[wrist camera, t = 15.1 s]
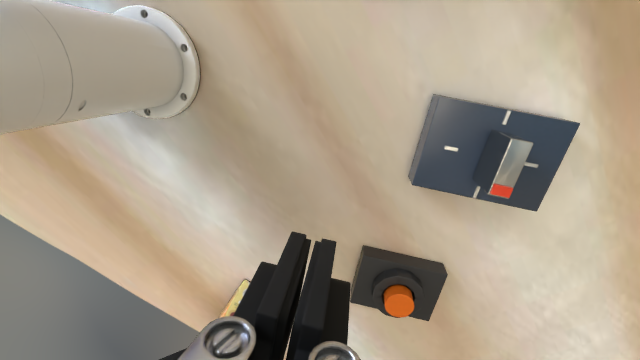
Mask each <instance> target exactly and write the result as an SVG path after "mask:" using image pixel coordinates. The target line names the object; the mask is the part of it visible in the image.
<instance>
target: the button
mask: <svg viewBox="0 0 640 360" xmlns="http://www.w3.org/2000/svg"><path fill="white" fill-rule="evenodd" d="M384 304H385V309H386V311H387V312H388V313H389V314H390V315H392V316H395V317H406V316H408V315H410V314H411V313H412V312H413V310H414V301H413V297H412V293H411V291H410V290H409V289H408V288H407V287H406V286H403V285H392V286H390V287H388V288H387V289H386V290H385V292H384Z"/></svg>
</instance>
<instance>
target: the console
mask: <svg viewBox="0 0 640 360" xmlns="http://www.w3.org/2000/svg"><path fill="white" fill-rule="evenodd" d="M579 125H580V123H577V122H573V121H569V120H565V119H560V118H555V117H550V116H545V115H540V114H534V113H529V112H524V111H519V110H514V109H509V108H503V107H498V106H493V105H488V104H483V103H477V102H472V101H467V100H462V99H457V98H452V97H446V96H441V95H436V94H433V97H432V101H431V104H430V107H429V110H428V114H427V117H426V120H425V123H424V127H423V130H422V133H421V137H420V140H419V143H418V146H417V150H416V153H415V156H414V159H413V163H412V166H411V169H410V173H409V176H408V177H409V179H410V181H411V184H412V185H415V186H419V187H424V188H429V189H433V190H438V191H443V192H447V193H452V194H457V195H462V196H466V197H471V198H476V199H480V200H485V201H490V202H494V203H499V204H504V205H508V206H513V207H518V208H522V209H527V210H532V211H537V210H538V208H539V206H540V204H541V202H542V200H543V198H544V196H545V194H546V192H547V190H548V188H549V186H550V184H551V182H552V180H553V178H554V176H555V174H556V172H557V170H558V168H559V166H560V164H561V162H562V160H563V157H564V155H565V153H566V151H567V149H568V147H569V145H570V143H571V141H572V139H573V137H574V135H575V133H576V131H577V129H578V127H579ZM492 129H493V130H498V131H503V132H508V133H512V134H514V135H516V136H519V137H521V138H523V139H526V140H528V141H530V142H533V146H532V148H531V150H530V153H529V155H528V157H527V159H526V161H525V164H524V166H523V168H522V170H521V173H520V175H519V177H518V179H517V181H516V184H515V186H514V188H513V191H512V193H511V195H510V197H509V199H507V198H502V197H497V196H493V195H488V194H487V193H486V192H485V191H484V190H483V189H482V188H481V187H480V186H479V185H478V184H477V183H476V182H475V181H474V180H473V179H472V178H473V175H474V173H475V170H476V167H477V165H478V162H479V160H480V157H481V155H482V152H483V149H484V147H485V144H486V142H487V139H488V137H489V134H490V132H491V130H492Z"/></svg>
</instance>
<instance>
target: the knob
mask: <svg viewBox="0 0 640 360" xmlns="http://www.w3.org/2000/svg"><path fill="white" fill-rule="evenodd" d="M532 146H533V142H530V141H528V140H526V139H523V138H521V137H519V136H516V135H514V134H512V133H508V132H503V131H498V130H493V129H492V130H491V132H490V134H489V137H488V139H487V142H486V144H485V147H484V149H483V152H482V155H481V157H480V160H479V162H478V165H477V167H476V170H475V173H474V175H473V178H472V179H473V180H474V181H475V182H476V183H477V184H478V185H479V186H480V187H481V188H482V189H483V190H484V191H485V192H486V193H487V194H488V195H493V196H497V197H502V198H507V199H509V197H510V195H511V193H512V191H513V188H514V186H515V184H516V181H517V179H518V177H519V175H520V173H521V170H522V168H523V166H524V164H525V161H526V159H527V157H528V155H529V153H530V150H531V148H532Z"/></svg>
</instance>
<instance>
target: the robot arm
mask: <svg viewBox="0 0 640 360" xmlns="http://www.w3.org/2000/svg"><path fill="white" fill-rule="evenodd" d="M187 47H188V50H187ZM199 81H200V65H199V60H198V56H197V53H196V50H195V48H194V45H193V43H192V41H191V39H190V38H189V36H188V34H187V33H186V32H185V30H184V29H183V28H182V27H181V26H180V24H178V23H177V22H176V21H175V20H174V19H173V18H171V17H170V16H168V15H167V14H165V13H163V12H162V11H159V10H156V9H153V8H150V7H146V6H133V5H132V6H128V7H123V8H121V9H119V10H117V11H116V12H114V13H113V14H108V13H104V12H100V11H95V10H91V9H86V8H82V7H77V6H73V5H68V4H64V3H59V2H55V1H50V0H0V135H1V134H6V133H11V132H16V131H21V130H27V129H32V128H38V127H44V126H50V125H56V124H61V123H67V122H73V121H78V120H84V119H90V118H95V117H101V116H107V115H112V114H118V113H123V112H129V111H132V112H134V113H135V114H137V115H140V116H143V117H145V118H151V119H164V118H169V117H172V116H175V115H177V114H180V113H181V112H182V111H184V110H185V109H186V108H187V107H188V106H189V105H190V104H191V103H192V101H193V99H194V98H195V96H196V93H197V90H198V87H199ZM186 95H187V97H186ZM310 244H311V240H309V239H306V235H305V234H301V233H297V232H292V233H291V235H290V237H289V239H288V242H287V244H286V246H285V248H284V251H283V253H282V255H281V258H280V260H279V262H278V265H274V264H270V263H266V262H261V264H260V265H259V267H258V269H257V271H256V273H255V275H254V277H253V279H252V281H251V282H250V284H249V286H248V288H247V290H246V292H245V294H244V296H243V298H242V300H241V301H240V303H239V305H238V307H237V309H236V311H235V313H234V315H233V316H225V317H221V318H218V319H216V320H214V321H212V322H210V323H209V324H208V325H207V326H206V327H204V328H203V330H202V331H201V332H200V333H199V335H198V336H197V337H196V338H195V339H194V341H193V342H192V343H191V344H190V345H189V346H188V348H186V349H184V350H181V351H179V352H176V353H174V354H172V355H170V356H167V357H164V358H162V359H160V360H283V358H284V355H285V351H286V347H287V344H288V340H289V336H290V333H291V337H290V342H289V347H288V352H287V357H286V360H361V359H360V358H359V356H358V355H357V353H356V352H354V351H353V350H352V349H351V348H350V347H348V346H347V338H348V320H349V302H350V282H346V281H342V280H338V279H333V278H331V274H332V268H333V261H334V255H335V248H336V241H331V240H327V239H323V238H322V241H321V242H318V241H315V245H314V249H313V252H312V256H311V260H310V263H309V267H308V270H307V274H306V278H305V281H304V285H303V289H302V284H303V279H304V274H305V269H306V264H307V259H308V254H309V249H310ZM301 289H302V292H301ZM300 294H301V296H300ZM299 299H300V300H299ZM292 325H293V327H292ZM291 329H292V332H291Z"/></svg>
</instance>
